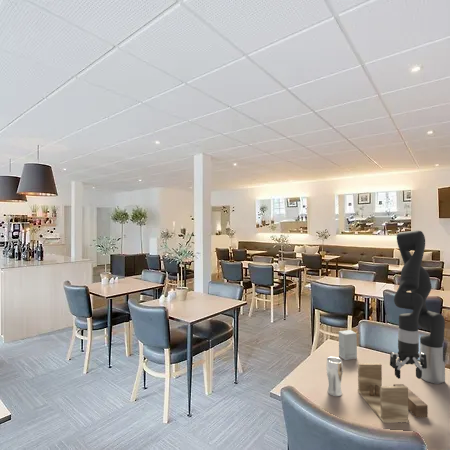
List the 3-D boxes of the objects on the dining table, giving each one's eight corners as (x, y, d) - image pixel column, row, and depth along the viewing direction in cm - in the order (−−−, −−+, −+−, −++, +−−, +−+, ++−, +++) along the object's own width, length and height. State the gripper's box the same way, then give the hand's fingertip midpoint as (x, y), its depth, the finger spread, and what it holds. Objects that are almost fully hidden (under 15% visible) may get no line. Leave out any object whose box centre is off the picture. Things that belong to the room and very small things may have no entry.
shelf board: (393, 395, 135) (393, 384, 135) (403, 395, 135) (403, 384, 135) (416, 418, 119) (416, 405, 119) (427, 417, 119) (427, 405, 119)
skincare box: (350, 354, 177) (350, 329, 177) (357, 359, 171) (357, 332, 171) (338, 356, 175) (338, 330, 175) (344, 360, 169) (344, 334, 169)
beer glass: (329, 387, 142) (329, 355, 142) (345, 392, 138) (344, 359, 138) (324, 393, 137) (324, 360, 137) (339, 399, 132) (339, 364, 132)
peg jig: (357, 391, 138) (357, 362, 138) (379, 391, 138) (379, 362, 138) (383, 422, 116) (383, 389, 116) (409, 422, 116) (408, 388, 116)
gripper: (419, 336, 131) (419, 373, 131) (386, 336, 131) (386, 373, 131) (431, 343, 124) (430, 382, 124) (396, 342, 124) (396, 382, 124)
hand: (408, 377), depth 128 cm, fingers open, 8 cm apart
